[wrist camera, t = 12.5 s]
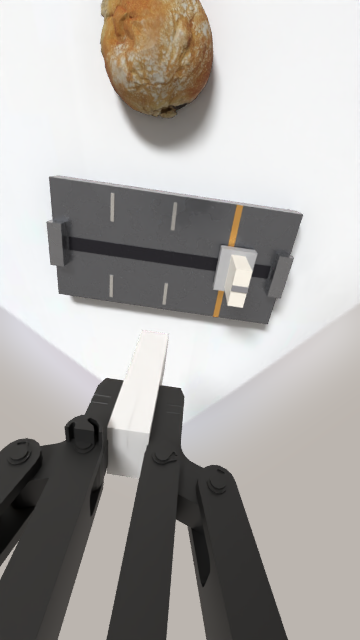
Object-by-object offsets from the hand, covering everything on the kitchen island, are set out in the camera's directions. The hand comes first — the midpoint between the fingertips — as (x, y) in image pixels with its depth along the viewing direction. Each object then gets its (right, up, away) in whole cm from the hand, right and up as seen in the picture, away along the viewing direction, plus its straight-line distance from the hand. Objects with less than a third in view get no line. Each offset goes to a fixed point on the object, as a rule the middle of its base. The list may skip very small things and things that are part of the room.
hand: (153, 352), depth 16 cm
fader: (+8, +8, +18) cm, 21 cm away
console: (0, +11, +21) cm, 23 cm away
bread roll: (-1, +28, +12) cm, 30 cm away
